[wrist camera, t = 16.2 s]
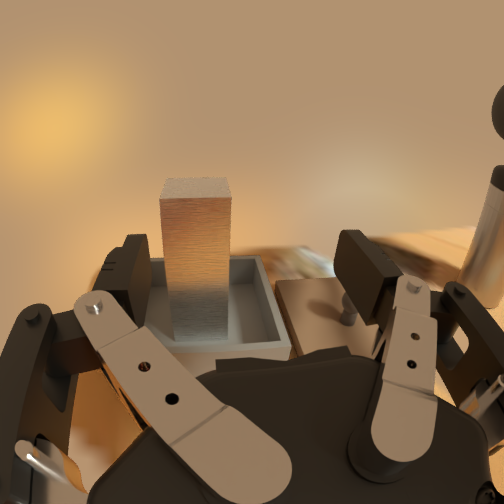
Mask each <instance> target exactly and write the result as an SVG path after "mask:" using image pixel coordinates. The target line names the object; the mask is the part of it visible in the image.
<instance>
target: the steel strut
mask: <svg viewBox="0 0 504 504" xmlns="http://www.w3.org/2000/svg"><path fill="white" fill-rule="evenodd" d="M231 200H232V198H231V194H230V190H229V187H228V183H227V179H226V177H219V178H218V177H210V178H209V177H208V178H168V179H166V183H165V185H164V188H163V190H162V193H161V196H160V199H159V201H160V216H161V229H162V240H163V252H164V262H165V271H166V280H167V288H168V296H169V304H170V311H171V318H172V325H173V332H174V338H175V342H196V341H220V340H228V298H229V258H230V227H231V225H230V224H231Z"/></svg>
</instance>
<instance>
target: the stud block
mask: <svg viewBox="0 0 504 504" xmlns="http://www.w3.org/2000/svg"><path fill="white" fill-rule="evenodd" d="M275 293H276V296H277V299H278V301H279V304H280V307H281V310H282V313H283V315H284V318H285V321H286V324H287V327H288V329H289V332H290V335H291V338H292V341H293V343H294V346H295V349H296V352H297V355H298V357H300V356H302V355H305V354H308V353H310V352H313V351H316V350H319V349H326V348H333V347H339V346H345V345H347V346H348V348H349V350H350V353H351V355H360V356H364V357H368V358H369V356H370V353H371V349H372V346H373V342H374V338H375V335H376V332H377V329H378V327H379V326H378V324H375V325H369V326H366V325H365V323H364V321H363V320H362V318H361V316H360V315H359V313H358V311H357V310H356V308H355V306H354V304H353V303H352V301H351V300H350V298H349V296H348V295H347V293H346V291H345V290H344V288H343V286H342V285H341V283H340V281H339V280H338V278H337V277H333V278H316V279H298V280H279V281H276V284H275Z"/></svg>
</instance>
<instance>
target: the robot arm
mask: <svg viewBox="0 0 504 504" xmlns="http://www.w3.org/2000/svg"><path fill="white" fill-rule="evenodd" d="M492 121H493V125H494V128H495V130H496V132H497V133H498V134H499V135H500V137H502V138H503V139H504V85H503V86H502V87H501V89H500V90H499V91H498V93H497V95H496V97H495V99H494V102H493V106H492ZM333 266H334V272H335V275H336V277H337V278H338V280H339V281H340V283H341V285H342V286H343V288H344V290H345V291H346V293H347V295H348V296H349V298H350V300H351V301H352V303H353V304H354V306H355V308H356V310H357V311H358V313H359V315H360V316H361V318H362V320H363V321H364V323H365V325H366V326H369V325H375V324H378V326H379V327H378V329H377V332H376V335H375V338H374V342H373V346H372V349H371V353H370V356H369V358H368V357H364V356H360V355H351V353H350V350H349V348H348V346H347V345H345V346H339V347H333V348H326V349H319V350H316V351H313V352H310V353H308V354H305V355H302V356H300V357H297V358H294V359H291V360H287V361H282V360H272V359H262V358H253V357H246V358H231V359H215V363H216V370H212V371H209V372H206V373H204V374H201V375H199V376H197V377H196V378H195V377H194V376H193V375H192V374H191V373H190V372H189V371H188V370H187V369H186V368H185V367H184V366H183V365H182V364H181V363H180V362H179V361H178V360H177V359H176V358H175V357H174V356H173V355H172V354H171V353H170V352H169V351H168V350H167V349H166V348H165V347H164V345H163V344H162V343H161V342H160V341H159V340H158V339H157V338H156V337H155V336H154V335H153V333H152V332H151V331H150V330H149V329H148V328H147V327H145V326H144V322H145V316H146V310H147V305H148V299H149V294H150V288H151V283H152V268H151V261H150V254H149V248H148V240H147V235H146V234H131V235H127V237H126V239H125V242H124V244H123V246H122V247H116V248H114V249H113V250H112V251H111V252H110V253H109V254H108V255H107V257H106V259H105V261H104V264H103V266H102V268H101V271H100V273H99V275H98V277H97V279H96V282H95V284H94V287H93V289H92V291H91V292H88V293H86V294H84V295H82V296H81V297H80V298H78V300H77V301H76V303H75V304H74V309H73V310H70V311H66V312H62V313H57V314H52V312H51V310H50V308H49V307H48V306H47V305H45V304H33V305H31V306H28V307H27V308H25V309H24V310H23V311H22V312H21V313H20V314H19V315H18V317H17V319H16V321H15V324H14V326H13V328H12V330H11V332H10V334H9V337H8V339H7V341H6V344H5V346H4V349H3V351H2V354H1V356H0V504H504V496H503V495H501V494H500V493H499V492H498V491H497V490H496V488H495V487H494V484H493V482H492V478H491V473H490V466H489V456H491V455H493V454H495V453H496V452H497V451H499V450H500V449H501V448H503V447H504V332H503V330H502V329H501V328H500V327H499V325H498V324H497V323H496V321H495V320H494V319H493V318H492V316H491V315H490V314H489V313H488V311H487V310H486V309H485V308H495V307H497V306H498V304H499V303H500V301H501V299H502V297H503V295H504V165H498V166H496V167H495V168H494V170H493V173H492V177H491V182H490V185H489V189H488V192H487V196H486V200H485V203H484V207H483V210H482V213H481V217H480V220H479V223H478V226H477V229H476V231H475V234H474V237H473V240H472V243H471V245H470V248H469V251H468V253H467V256H466V258H465V261H464V263H463V266H462V268H461V270H460V273H459V275H458V278H457V280H456V282H448V283H447V284H446V285H445V287H444V290H443V292H438V291H431V290H430V288H429V286H428V285H427V284H426V283H425V282H424V281H423V280H421V279H420V278H418V277H415V276H412V275H404V274H403V273H402V272H401V271H400V270H399V268H398V267H397V266H396V265H395V264H394V263H393V262H392V260H390V258H389V257H388V256H387V255H386V254H385V253H384V252H383V250H382V249H381V248H380V247H379V246H377V245H376V244H374V243H373V242H371V241H369V240H368V239H367V238H366V236H365V235H364V234H363V233H362V232H361V231H360V230H342V231H341V233H340V235H339V240H338V244H337V249H336V253H335V258H334V264H333ZM484 307H485V308H484ZM459 326H460V327H461V328H462V330H463V331H464V333H465V334H466V336H467V337H468V340H469V346H468V349H467V351H466V352H465V354H464V353H463V352H462V350H461V349H460V347H459V346H458V344H457V343H456V341H455V340H454V338H453V335H454V333H455V332H456V330H457V328H458V327H459ZM96 369H100V370H101V372H102V373H103V375H104V377H105V378H106V380H107V381H108V383H109V384H110V386H111V387H112V389H113V390H114V392H115V393H116V395H117V396H118V398H119V399H120V401H121V402H122V403H123V405H124V406H125V408H126V409H127V411H128V412H129V414H130V416H131V417H132V418H133V420H134V421H135V423H136V424H137V425H138V427H139V428H140V429H141V431H142V433H141V434H140V435H139V436H138V437H137V438H136V439H135V440H134V442H133V443H132V444H131V445H130V446H129V447H128V448H127V449H126V450H125V451H124V452H123V454H122V455H121V456H120V457H119V458H118V459H117V460H116V461H115V462H114V463H113V464H112V465H111V466H110V467H109V469H108V470H107V471H106V472H105V473H104V474H103V475H102V476H101V477H100V478H99V479H98V480H97V481H96V482H95V484H94V485H93V487H92V488H91V490H90V492H89V494H88V493H87V492H86V490H85V489H84V487H83V484H82V480H81V473H80V470H79V468H78V466H77V465H76V463H75V462H74V461H73V460H72V459H70V458H69V457H68V446H69V436H70V427H71V419H72V411H73V404H74V398H75V392H76V386H77V381H78V375H79V373H83V372H87V371H91V370H96ZM436 369H437V371H438V373H439V374H440V376H441V378H442V380H443V382H444V384H445V386H446V387H447V389H448V391H449V393H450V395H451V397H452V399H453V401H454V403H455V405H456V407H455V406H453V405H452V404H450V403H448V402H446V401H445V400H443V399H441V398H440V397H438V396H436V395H434V382H435V370H436Z"/></svg>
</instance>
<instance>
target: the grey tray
mask: <svg viewBox="0 0 504 504" xmlns="http://www.w3.org/2000/svg"><path fill="white" fill-rule="evenodd" d="M150 261H151V268H152V283H151V288H150V294H149V299H148V305H147V310H146V316H145V322H144V326H145V327H147V328H148V329H149V330H150V331H151V332H152V333H153V335H154V336H155V337H156V338H157V339H158V340H159V341H160V342H161V343H162V344H163V345H164V347H165V348H166V349H167V350H168V351H169V352H170V353H171V354H172V355H173V356H174V357H175V358H176V359H177V360H178V361H179V362H180V363H181V364H182V365H183V366H184V367H185V368H186V369H187V370H188V371H189V372H190V373H191V374H192V375H193V376H194V377H195V378H196V377H197V376H199V375H201V374H204V373H206V372H209V371H212V370H216V363H215V359H231V358H246V357H253V358H262V359H272V360H282V361H287V360H288V359H289V355H290V351H291V347H292V346H291V343H290V340H289V337H288V334H287V331H286V328H285V325H284V323H283V320H282V317H281V314H280V311H279V308H278V305H277V302H276V300H275V297H274V294H273V291H272V288H271V285H270V282H269V280H268V277H267V274H266V271H265V268H264V265H263V262H262V260H261V257H260V255H248V256H230V258H229V298H228V340H220V341H196V342H175V338H174V332H173V325H172V318H171V311H170V304H169V296H168V288H167V280H166V271H165V262H164V258H150Z"/></svg>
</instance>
